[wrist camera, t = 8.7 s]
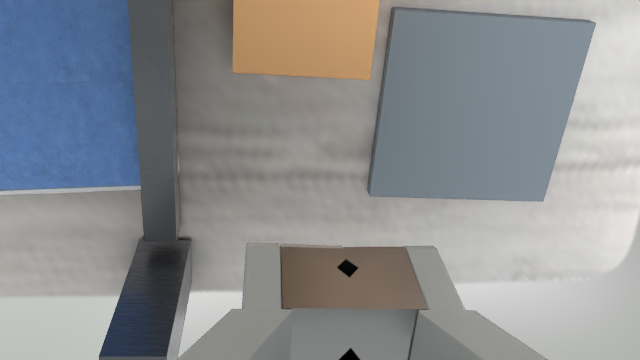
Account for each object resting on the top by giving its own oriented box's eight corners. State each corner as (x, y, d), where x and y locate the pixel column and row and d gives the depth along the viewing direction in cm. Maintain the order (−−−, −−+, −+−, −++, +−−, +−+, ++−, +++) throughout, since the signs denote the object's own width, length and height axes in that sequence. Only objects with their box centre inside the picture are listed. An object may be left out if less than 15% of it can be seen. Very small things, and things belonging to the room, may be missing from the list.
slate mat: (367, 190, 29) (369, 196, 28) (392, 6, 25) (395, 9, 24) (538, 195, 30) (543, 201, 29) (589, 20, 26) (595, 23, 25)
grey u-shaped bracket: (142, 279, 30) (104, 403, 23) (111, -144, 21) (33, -156, 14) (365, 282, 31) (394, 401, 24) (423, -115, 22) (495, -112, 15)
